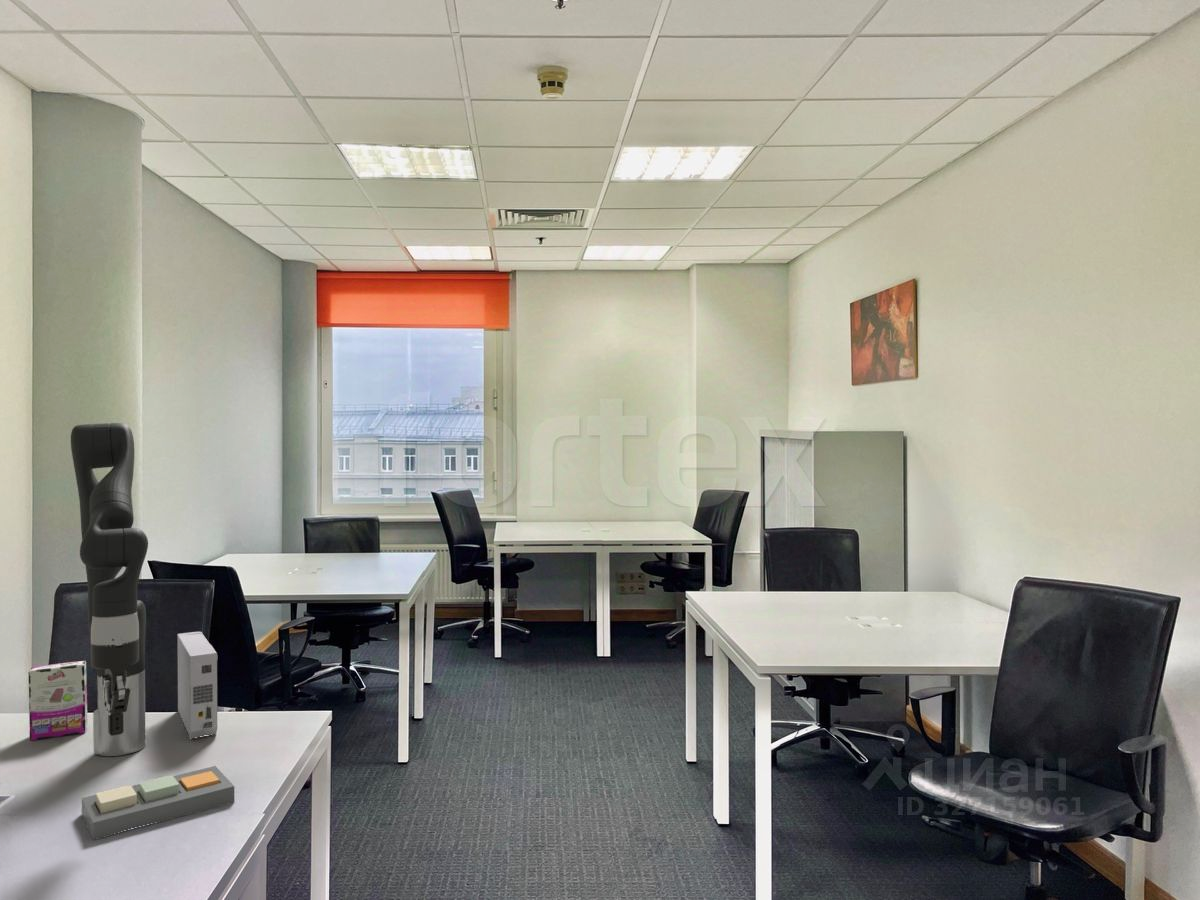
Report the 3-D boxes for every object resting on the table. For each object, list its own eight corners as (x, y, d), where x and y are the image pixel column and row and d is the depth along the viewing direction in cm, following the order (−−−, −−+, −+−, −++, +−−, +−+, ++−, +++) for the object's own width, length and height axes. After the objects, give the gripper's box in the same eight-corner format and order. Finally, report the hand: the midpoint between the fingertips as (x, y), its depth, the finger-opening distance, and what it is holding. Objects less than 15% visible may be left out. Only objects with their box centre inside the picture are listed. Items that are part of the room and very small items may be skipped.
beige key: (101, 814, 143) (101, 803, 143) (95, 804, 147) (95, 793, 147) (136, 805, 147) (136, 794, 147) (130, 795, 151) (130, 784, 151)
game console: (202, 707, 211) (202, 630, 211) (218, 737, 188) (218, 652, 188) (178, 711, 208) (177, 633, 208) (191, 743, 185) (190, 656, 185)
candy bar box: (87, 727, 196) (87, 659, 196) (85, 733, 192) (85, 664, 192) (32, 734, 191) (31, 665, 191) (28, 741, 187) (28, 670, 187)
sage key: (145, 803, 147) (145, 792, 147) (139, 793, 152) (139, 782, 152) (179, 794, 151) (179, 784, 151) (172, 785, 155) (172, 774, 155)
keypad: (93, 840, 139) (93, 822, 139) (81, 814, 149) (81, 798, 149) (234, 801, 154) (234, 786, 154) (215, 780, 164) (215, 765, 164)
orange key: (187, 798, 152) (187, 787, 152) (180, 788, 156) (180, 778, 156) (219, 790, 156) (219, 779, 156) (211, 780, 160) (211, 770, 160)
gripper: (85, 635, 150) (85, 729, 149) (97, 648, 139) (97, 749, 139) (131, 629, 154) (132, 720, 154) (146, 641, 144) (146, 738, 144)
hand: (115, 733), depth 147 cm, fingers closed
